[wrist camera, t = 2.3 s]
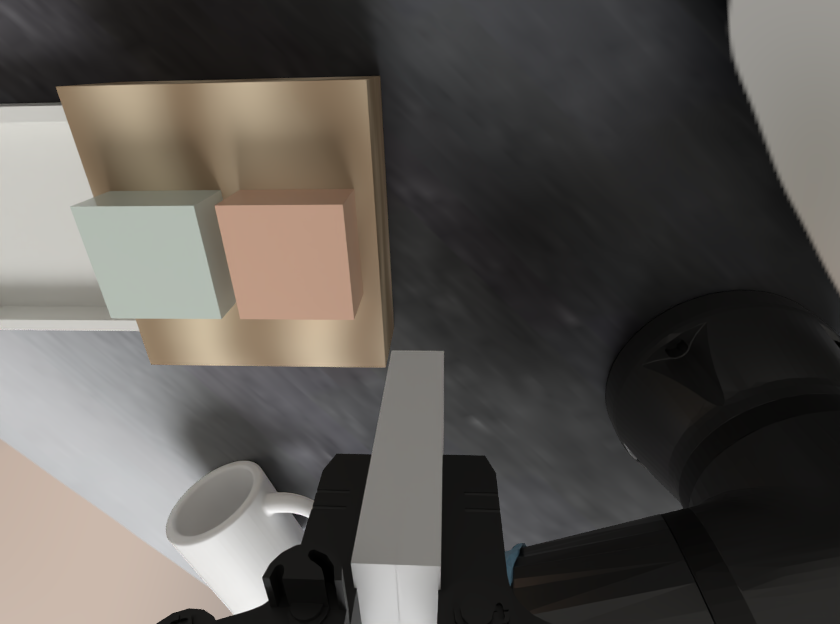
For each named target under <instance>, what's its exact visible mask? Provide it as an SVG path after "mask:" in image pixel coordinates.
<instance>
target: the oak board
mask: <svg viewBox="0 0 840 624" xmlns="http://www.w3.org/2000/svg"><path fill="white" fill-rule="evenodd" d="M56 89H57V92H58V95H59V98H60V101H61V104H62V107H63V110H64V112H65V115H66V118H67V121H68V124H69V127H70V130H71V133H72V136H73V139H74V142H75V145H76V147H77V150H78V153H79V156H80V159H81V162H82V165H83V168H84V171H85V174H86V177H87V179H88V182H89V185H90V188H91V191H92V194H93V197H96V196H98V195H101V194H104V193H106V192H109V191H168V190H221V193H222V198H223V200H224V199H226V198H227V197H229V196H231V195H232V194H234V193H235V192H237V191H238V190H273V189H354V192H355V203H356V215H357V227H358V238H359V250H360V261H361V273H362V284H363V297H362V300H361V302H360V305H359V308H358V311H357V313H356V316H355V319H354V320H289V319H240V316H239V312H238V307H237V303H235V304H234V305H233V306H232V308H231V309H230V310H229V311H228V312H227V313H226V315H225V316H224V317H223V318H222V319H136V322H137V325H138V328H139V331H140V334H141V337H142V339H143V342H144V345H145V348H146V351H147V354H148V357H149V360H150V363H151V365H227V366H309V367H386V364H387V359H388V354H389V349H390V344H391V339H392V334H393V329H394V319H393V301H392V283H391V265H390V246H389V228H388V210H387V192H386V174H385V156H384V138H383V119H382V101H381V83H380V76H356V77H313V78H270V79H227V80H184V81H141V82H113V83H99V84H85V85H71V86H58V87H56Z"/></svg>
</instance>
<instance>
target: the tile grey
mask: <svg viewBox="0 0 840 624" xmlns="http://www.w3.org/2000/svg"><path fill="white" fill-rule="evenodd" d="M221 201H223V198H222V193H221V190H168V191H109V192H106V193H104V194H101V195H98V196H96V197H93V198H91V199H88V200H86V201H83V202H81V203H78V204H75V205H73V206H70V208H71V211H72V214H73V216H74V219H75V222H76V224H77V227H78V230H79V233H80V235H81V238H82V241H83V243H84V246H85V249H86V251H87V254H88V257H89V260H90V262H91V265H92V268H93V270H94V273H95V276H96V278H97V281H98V284H99V287H100V289H101V292H102V295H103V297H104V300H105V303H106V305H107V308H108V311H109V314H110V316H111V318H134V319H222V318H223V317H224V316H225V315H226V313H227V312H228V311H229V310H230V309H231V308H232V306H233V305H234V304H235V303H236V298H235V294H234V289H233V285H232V281H231V276H230V272H229V267H228V263H227V259H226V254H225V250H224V245H223V241H222V236H221V232H220V228H219V223H218V219H217V214H216V210H215V205H216V204H218V203H219V202H221Z"/></svg>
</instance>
